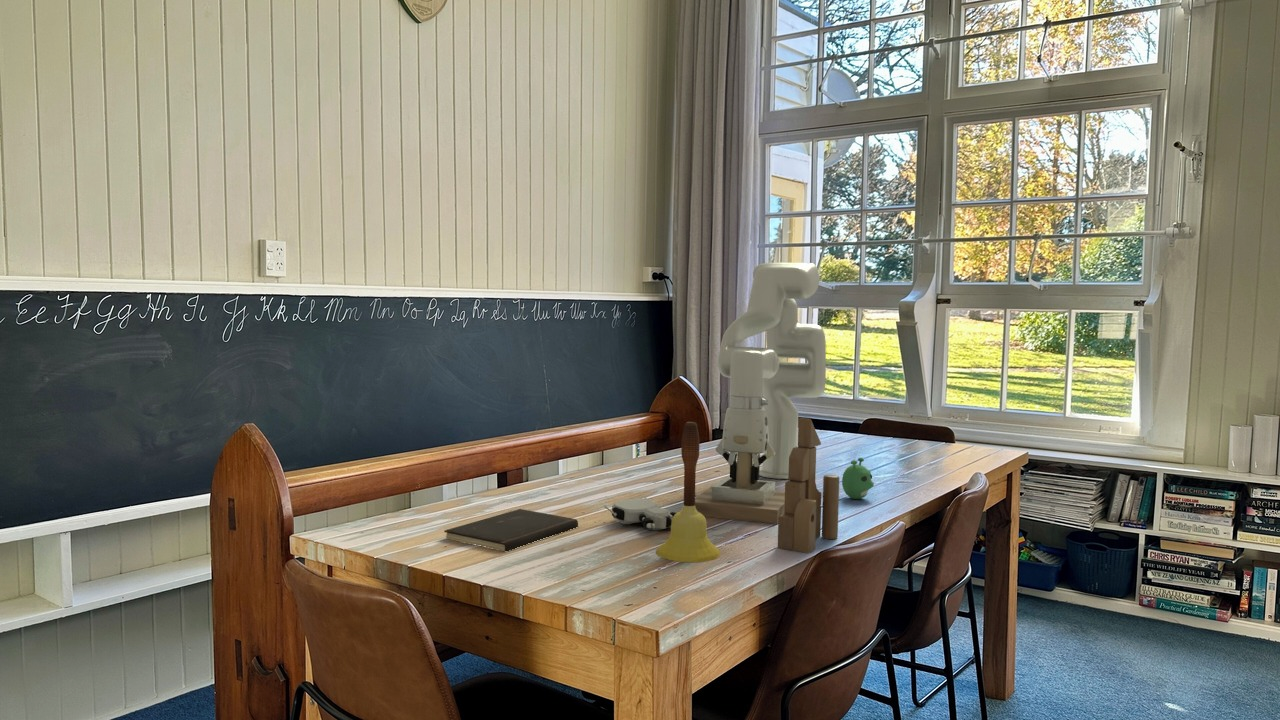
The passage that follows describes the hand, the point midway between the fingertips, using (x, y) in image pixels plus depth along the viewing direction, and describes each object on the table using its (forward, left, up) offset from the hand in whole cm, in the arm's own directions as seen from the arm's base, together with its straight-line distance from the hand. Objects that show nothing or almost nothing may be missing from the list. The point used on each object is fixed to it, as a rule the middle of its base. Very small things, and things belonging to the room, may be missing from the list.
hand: (744, 481), depth 204 cm
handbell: (+39, -1, -7) cm, 40 cm away
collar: (0, 0, -4) cm, 4 cm away
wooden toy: (+22, +19, -7) cm, 30 cm away
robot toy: (+23, -16, -7) cm, 28 cm away
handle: (0, 0, -4) cm, 4 cm away
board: (0, 0, -7) cm, 7 cm away
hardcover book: (+40, -38, -7) cm, 56 cm away
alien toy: (-23, +23, -7) cm, 33 cm away
